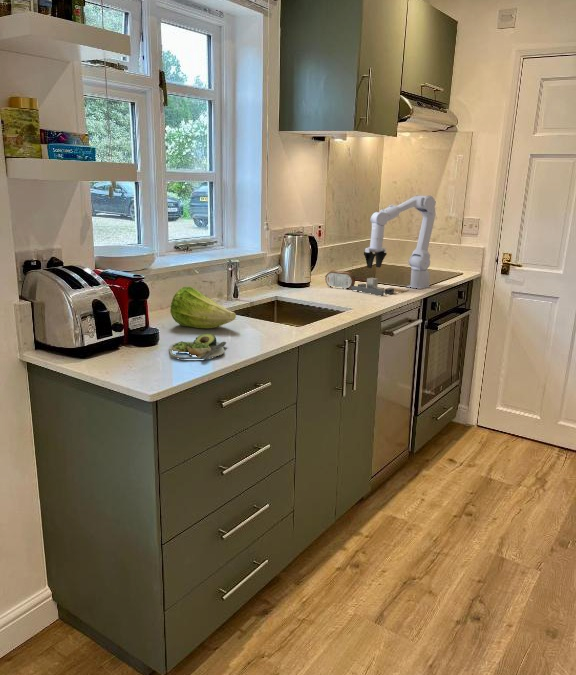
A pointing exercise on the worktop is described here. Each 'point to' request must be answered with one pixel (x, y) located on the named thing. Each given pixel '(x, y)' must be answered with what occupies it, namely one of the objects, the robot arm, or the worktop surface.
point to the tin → (340, 279)
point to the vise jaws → (372, 290)
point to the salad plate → (199, 347)
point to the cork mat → (398, 290)
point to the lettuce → (198, 310)
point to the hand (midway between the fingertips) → (373, 267)
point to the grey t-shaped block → (373, 284)
